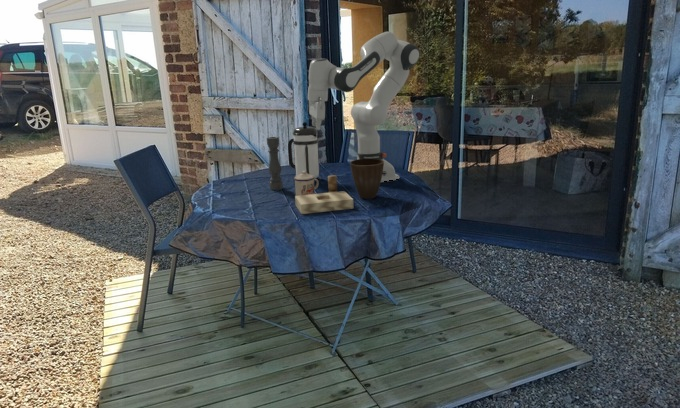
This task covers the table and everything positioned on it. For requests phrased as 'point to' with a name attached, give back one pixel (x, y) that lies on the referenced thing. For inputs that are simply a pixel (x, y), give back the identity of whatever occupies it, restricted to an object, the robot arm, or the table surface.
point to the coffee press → (305, 151)
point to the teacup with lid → (305, 184)
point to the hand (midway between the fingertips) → (316, 127)
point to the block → (323, 202)
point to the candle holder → (274, 163)
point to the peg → (332, 183)
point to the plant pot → (367, 176)
